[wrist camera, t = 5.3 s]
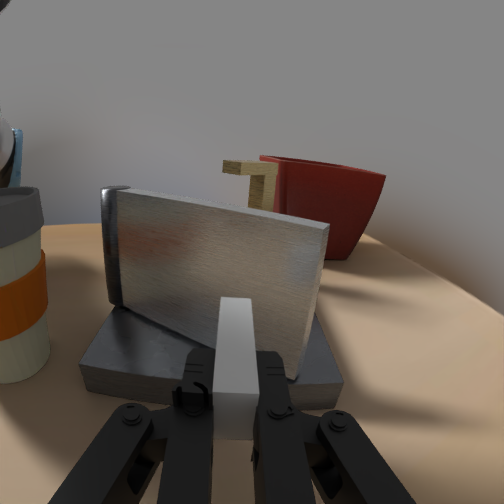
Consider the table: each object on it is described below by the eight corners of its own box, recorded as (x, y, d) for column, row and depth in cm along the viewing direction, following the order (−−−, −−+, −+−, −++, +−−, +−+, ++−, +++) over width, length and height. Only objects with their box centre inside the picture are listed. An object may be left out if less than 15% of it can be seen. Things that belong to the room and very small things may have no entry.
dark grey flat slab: (87, 390, 20) (78, 363, 19) (152, 273, 43) (151, 253, 42) (334, 408, 22) (343, 382, 21) (290, 282, 44) (293, 262, 43)
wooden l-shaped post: (216, 285, 41) (223, 160, 36) (251, 272, 46) (261, 160, 41) (231, 294, 39) (241, 162, 34) (267, 279, 45) (279, 163, 39)
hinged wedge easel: (103, 299, 28) (94, 188, 24) (123, 289, 30) (118, 185, 27) (291, 385, 20) (320, 231, 16) (304, 363, 22) (332, 222, 19)
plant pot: (332, 235, 71) (342, 164, 65) (372, 267, 53) (388, 174, 47) (251, 232, 67) (258, 154, 62) (269, 266, 50) (280, 160, 44)
